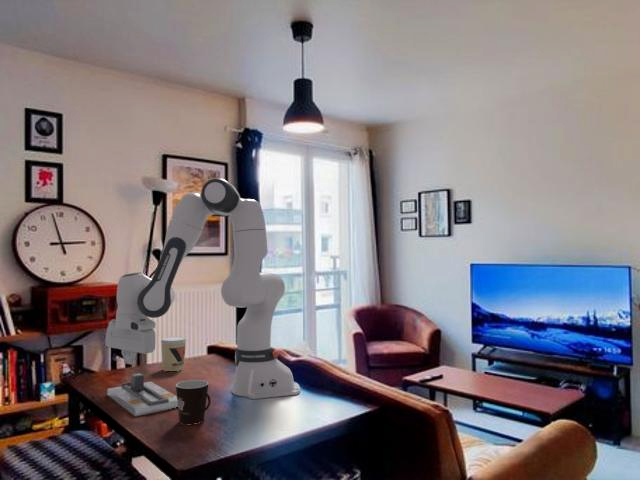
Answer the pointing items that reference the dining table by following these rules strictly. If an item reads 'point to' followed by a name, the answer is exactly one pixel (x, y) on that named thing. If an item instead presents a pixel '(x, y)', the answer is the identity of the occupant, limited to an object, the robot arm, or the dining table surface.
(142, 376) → the fader knob
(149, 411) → the console
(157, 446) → the dining table surface
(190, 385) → the coffee mug
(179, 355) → the coffee cup
